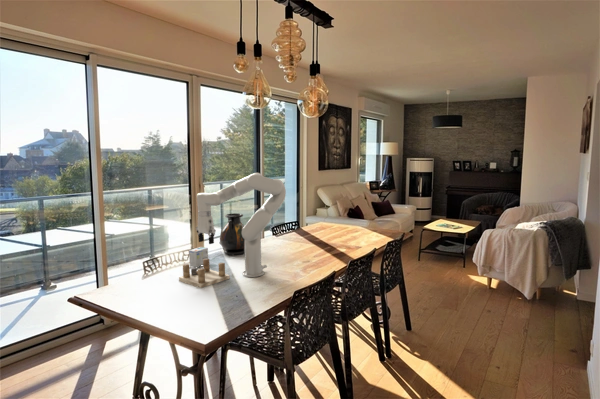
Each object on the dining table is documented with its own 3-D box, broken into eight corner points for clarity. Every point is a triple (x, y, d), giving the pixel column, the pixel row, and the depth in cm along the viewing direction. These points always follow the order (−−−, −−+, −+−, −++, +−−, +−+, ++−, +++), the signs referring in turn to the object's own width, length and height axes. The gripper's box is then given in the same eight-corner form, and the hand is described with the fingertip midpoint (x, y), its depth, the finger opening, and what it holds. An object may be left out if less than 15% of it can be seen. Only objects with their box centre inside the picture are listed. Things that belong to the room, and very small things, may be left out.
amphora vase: (245, 257, 267) (244, 217, 263) (215, 256, 270) (214, 216, 267) (253, 249, 288) (252, 212, 284) (226, 248, 291) (224, 212, 288)
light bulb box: (201, 262, 255) (200, 246, 254) (208, 263, 252) (208, 247, 250) (189, 266, 246) (188, 249, 245) (196, 267, 243) (196, 251, 241)
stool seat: (207, 272, 233) (207, 257, 232) (229, 278, 221) (229, 263, 220) (179, 280, 218) (178, 265, 217) (200, 288, 206) (199, 271, 204)
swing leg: (207, 269, 232) (206, 258, 231) (210, 270, 229) (210, 259, 229) (189, 274, 222) (189, 263, 221) (193, 275, 220) (193, 264, 219)
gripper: (219, 214, 222) (220, 243, 224) (200, 212, 233) (202, 239, 235) (208, 216, 217) (210, 245, 219) (190, 213, 228) (192, 242, 230)
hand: (206, 242), depth 227 cm, fingers open, 9 cm apart
